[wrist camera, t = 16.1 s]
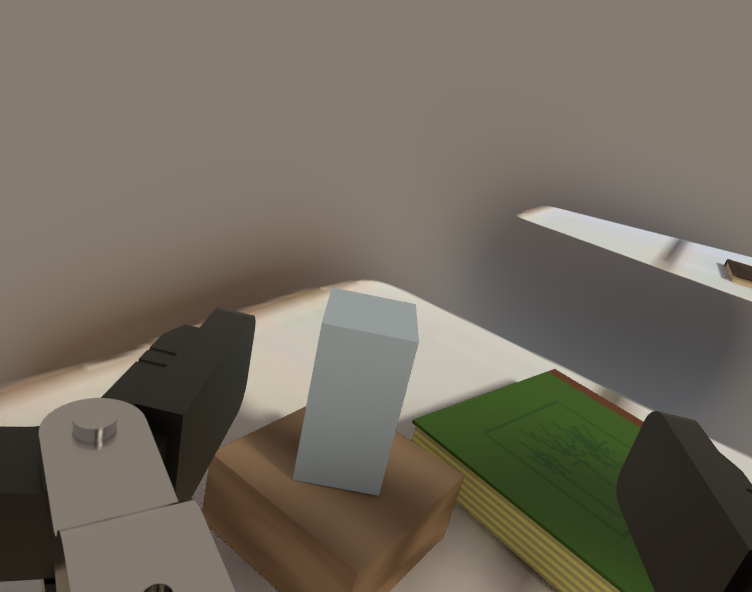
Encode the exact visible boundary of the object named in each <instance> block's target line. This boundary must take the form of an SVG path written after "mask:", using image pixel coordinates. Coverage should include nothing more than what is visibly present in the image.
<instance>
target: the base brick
mask: <svg viewBox="0 0 752 592" xmlns="http://www.w3.org/2000/svg"><path fill="white" fill-rule="evenodd" d="M305 411H306V407H304V408H301V409H299V410H297V411H295V412H293V413H291V414H289V415H287V416H285V417H283V418H281V419H279V420H277V421H275V422H273V423H271V424H268V425H266V426H264V427H262V428H260V429H258V430H256V431H254V432H252V433H250V434H248V435H246V436H244V437H242V438H240V439H237V440H235V441H233V442H231V443H229V444H227V445H225V446H223V447H221V448H219V449H218V450H217V452H216V454H215V456H214V457H213V459H212V461H211V463H210V465H209V469H208V476H207V483H206V490H205V497H204V504H203V511H202V513H203V516H204V518H205V520H206V523H207V525H208V527H209V528H211V529H212V530H213V531H214V532H215V533H216V534H217V535H218V536H219V537H220V538H221V539H222V540H224V541H225V542H226V543H227V544H228V545H229V546H230V547H231V548H232V549H233V550H234V551H235V552H237V553H238V554H239V555H240V556H241V557H242V558H243V559H244V560H245V561H246V562H247V563H248V564H250V565H251V566H252V567H253V568H254V569H255V570H256V571H257V572H258V573H259V574H260V575H261V576H263V577H264V578H265V579H266V580H267V581H268V582H269V583H270V584H271V585H272V586H273V587H274V588H275V589H277V590H278V591H279V592H389V591H390V590H391V589H392V588H393V587H394V586H395V585H396V584H397V583H398V582H399V581H400V580H401V579H402V578H403V577H404V576H405V575H406V574H407V573H408V572H409V571H410V570H411V569H412V568H413V567H414V566H415V565H416V564H417V563H418V562H419V561H420V560H421V559H422V558H423V557H424V556H425V555H426V554H427V553H428V552H429V551H430V550H431V549H432V548H433V547H434V546H435V545H436V544H437V543H438V542H439V541H440V540H441V539H442V538H443V536H444V533H445V530H446V527H447V525H448V522H449V519H450V516H451V513H452V511H453V508H454V505H455V502H456V499H457V496H458V494H459V491H460V488H461V485H462V482H463V480H464V477H465V475H463V474H461V473H460V472H458V471H457V470H455V469H454V468H452V467H451V466H449V465H447V464H446V463H444V462H443V461H441V460H440V459H438V458H436V457H435V456H433V455H432V454H430V453H429V452H427V451H426V450H424V449H422V448H421V447H419V446H418V445H416V444H415V443H413V442H411V441H410V440H408V439H407V438H405V437H404V436H402V435H401V434H399V433H397V432H395V435H394V439H393V443H392V447H391V451H390V455H389V459H388V462H387V466H386V470H385V474H384V478H383V482H382V485H381V489H380V493H379V496H377V495H371V494H366V493H361V492H356V491H350V490H345V489H340V488H334V487H329V486H324V485H318V484H313V483H308V482H302V481H297V480H293V475H294V470H295V464H296V459H297V454H298V448H299V443H300V438H301V432H302V427H303V422H304V416H305Z"/></svg>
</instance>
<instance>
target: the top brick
mask: <svg viewBox="0 0 752 592" xmlns="http://www.w3.org/2000/svg"><path fill="white" fill-rule="evenodd" d="M418 343H419V340H418V327H417V314H416V304H411V303H406V302H401V301H396V300H391V299H386V298H381V297H377V296H372V295H367V294H362V293H357V292H352V291H347V290H342V289H337V288H332V290H331V293H330V297H329V300H328V304H327V307H326V311H325V314H324V318H323V321H322V325H321V331H320V336H319V341H318V347H317V352H316V357H315V363H314V368H313V373H312V379H311V384H310V389H309V395H308V400H307V405H306V411H305V416H304V422H303V427H302V432H301V438H300V443H299V448H298V454H297V459H296V464H295V470H294V475H293V480H297V481H302V482H308V483H313V484H318V485H324V486H329V487H334V488H340V489H345V490H350V491H356V492H361V493H366V494H371V495H377V496H379V493H380V489H381V485H382V482H383V478H384V474H385V470H386V466H387V462H388V459H389V455H390V451H391V447H392V443H393V439H394V435H395V432H396V428H397V424H398V420H399V416H400V412H401V408H402V405H403V401H404V397H405V393H406V389H407V385H408V381H409V378H410V374H411V370H412V366H413V362H414V358H415V354H416V351H417V347H418Z"/></svg>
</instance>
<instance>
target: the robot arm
mask: <svg viewBox="0 0 752 592" xmlns="http://www.w3.org/2000/svg"><path fill="white" fill-rule="evenodd" d="M254 332H255V316H254V315H249V314H245V313H241V312H237V311H232V310H228V309H223V308H219V307H218V308H216V309H215V310H214V311H213V313H212V314H211V315H210V316H209V317H208V318H207V320H206V321H205V322H204V323H203V324H202V325H201V326H200V328H198V327H193V326H189V325H183V326H180V327H178V328H176V329H173V330H171V331H168V332H166V333H164V334H163V335H161V337H160V338H159V339H158V340H157V341H156V342H155V343H154V344H153V345H152V346H151V347H150V349H149V350H147V351H146V352H145V353H144V354H143V355H142V356H141V357H140V358H139V361H138V362H135V363H134V364H133V365H132V366H131V367H130V368H129V369H128V370H127V371H126V372H125V373H124V375H123V376H122V377H121V378H120V379H119V380H118V381H117V382H116V383H115V384H114V385H113V386H112V387H111V388H110V389H109V390H108V391H107V392H106V393H105V394H104V395H103V396H102V397H101V398H91V399H83V400H78V401H74V402H71V403H68V404H66V405H63V406H61V407H59V408H57V409H55V410H54V411H52V412H51V413H50V414H48V415H47V416H46V417H45V418H44V420H43V421H42V423H41V425H40V426H36V427H0V582H2V581H19V580H36V579H41V586H42V592H236V591H235V589H234V586H233V584H232V582H231V579H230V577H229V575H228V572H227V570H226V568H225V565H224V563H223V560H222V558H221V556H220V553H219V551H218V549H217V546H216V544H215V542H214V539H213V537H212V535H211V532H210V530H209V527H208V525H207V523H206V520H205V518H204V516H203V513H202V511H201V509H200V507H199V505H198V504H197V502H196V501H195V500H193V499H191V498H192V496H193V494H194V492H195V490H196V488H197V487H198V485H199V483H200V481H201V479H202V477H203V476H204V474H205V472H206V470H207V468H208V466H209V465H210V463H211V461H212V459H213V457H214V456H215V454H216V452H217V450H218V448H219V446H220V445H221V443H222V441H223V439H224V437H225V435H226V434H227V432H228V430H229V428H230V426H231V424H232V423H233V421H234V419H235V417H236V415H237V413H238V411H239V409H240V406H241V403H242V400H243V397H244V393H245V389H246V385H247V378H248V372H249V365H250V358H251V352H252V345H253V338H254ZM616 493H617V501H618V505H619V507H620V510H621V512H622V514H623V517H624V519H625V522H626V524H627V526H628V529H629V531H630V534H631V536H632V538H633V541H634V543H635V546H636V548H637V550H638V553H639V555H640V558H641V560H642V562H643V565H644V567H645V570H646V572H647V574H648V577H649V579H650V582H651V584H652V586H653V589H654V591H655V592H752V484H751V482H750V481H749V480H748V478H747V477H746V476H745V474H744V473H743V472H742V471H741V470H740V469H739V468H738V467H737V466H736V465H734V464H733V463H732V462H731V461H730V460H728V459H727V458H726V457H725V456H724V455H723V454H721V453H720V452H719V451H718V450H717V448H716V447H715V446H714V444H713V443H712V441H711V440H710V439H709V437H708V436H707V435H706V433H705V432H704V430H703V429H702V428H701V426H700V425H699V424H698V423H697V422H696V421H695V420H692V419H688V418H684V417H680V416H676V415H671V414H667V413H663V412H658V411H654V412H651V413H650V414H649V415H648V416H647V417H646V419H645V420H644V422H643V424H642V427H641V429H640V431H639V433H638V435H637V437H636V439H635V441H634V443H633V445H632V448H631V450H630V452H629V454H628V456H627V458H626V460H625V462H624V464H623V467H622V469H621V471H620V473H619V476H618V481H617V489H616Z"/></svg>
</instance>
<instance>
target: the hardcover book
mask: <svg viewBox="0 0 752 592" xmlns="http://www.w3.org/2000/svg"><path fill="white" fill-rule="evenodd" d="M412 423H413V424H414V425H415V426H416V429H415V432H414V435H413V438H412V442H413V443H415V444H416V445H418V446H419V447H421V448H422V449H424V450H426V451H427V452H429V453H430V454H432V455H433V456H435V457H436V458H438V459H440V460H441V461H443V462H444V463H446V464H447V465H449V466H451V467H452V468H454V469H455V470H457V471H458V472H460V473H461V474H463V475H465V477H464V480H463V482H462V485H461V488H460V491H459V494H458V496H457V499H456V502H457V503H458V504H459V505H460V506H461V507H463V508H464V509H465V510H466V511H467V512H468V513H469V514H471V515H472V516H473V517H474V518H475V519H476V520H477V521H479V522H480V523H481V524H482V525H483V526H484V527H485V528H487V529H488V530H489V531H490V532H491V533H492V534H493V535H495V536H496V537H497V538H498V539H499V540H500V541H501V542H503V543H504V544H505V545H506V546H507V547H508V548H509V549H510V550H512V551H513V552H514V553H515V554H516V555H517V556H518V557H520V558H521V559H522V560H523V561H524V562H525V563H526V564H528V565H529V566H530V567H531V568H532V569H533V570H534V571H536V572H537V573H538V574H539V575H540V576H541V577H542V578H544V579H545V580H546V581H547V582H548V583H549V584H550V585H552V586H553V587H554V588H555V589H556V590H557V591H558V592H655V591H654V589H653V586H652V584H651V582H650V579H649V577H648V574H647V572H646V570H645V567H644V565H643V562H642V560H641V558H640V555H639V553H638V550H637V548H636V546H635V543H634V541H633V538H632V536H631V534H630V531H629V529H628V526H627V524H626V522H625V519H624V517H623V514H622V512H621V510H620V507H619V505H618V501H617V493H616V489H617V481H618V476H619V473H620V471H621V469H622V467H623V464H624V462H625V460H626V458H627V456H628V454H629V452H630V450H631V448H632V445H633V443H634V441H635V439H636V437H637V435H638V433H639V431H640V429H641V427H642V424H643V421H641V420H640V419H638V418H636V417H635V416H633V415H631V414H630V413H628V412H626V411H625V410H623V409H621V408H620V407H618V406H616V405H615V404H613V403H611V402H609V401H608V400H606V399H604V398H603V397H601V396H599V395H598V394H596V393H594V392H593V391H591V390H589V389H588V388H586V387H584V386H583V385H581V384H579V383H578V382H576V381H574V380H573V379H571V378H569V377H567V376H566V375H564V374H562V373H561V372H559V371H557V370H556V369H553V370H550V371H548V372H545V373H542V374H539V375H536V376H534V377H531V378H528V379H525V380H523V381H520V382H517V383H514V384H511V385H509V386H506V387H503V388H500V389H497V390H495V391H492V392H489V393H486V394H483V395H481V396H478V397H475V398H472V399H469V400H467V401H464V402H461V403H458V404H455V405H453V406H450V407H447V408H444V409H441V410H439V411H436V412H433V413H430V414H427V415H425V416H422V417H419V418H416V419H413V421H412Z"/></svg>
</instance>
